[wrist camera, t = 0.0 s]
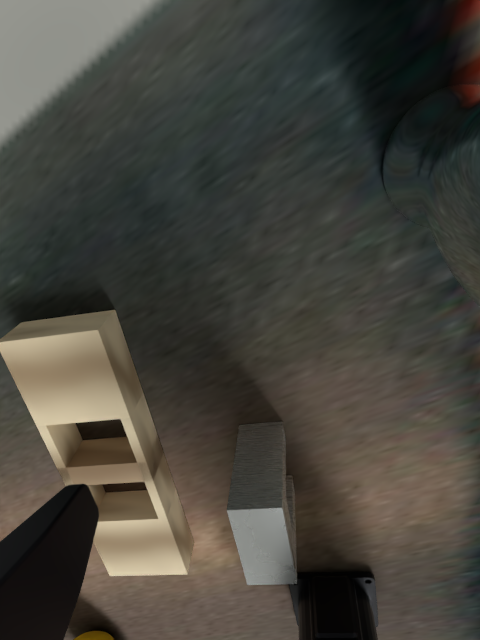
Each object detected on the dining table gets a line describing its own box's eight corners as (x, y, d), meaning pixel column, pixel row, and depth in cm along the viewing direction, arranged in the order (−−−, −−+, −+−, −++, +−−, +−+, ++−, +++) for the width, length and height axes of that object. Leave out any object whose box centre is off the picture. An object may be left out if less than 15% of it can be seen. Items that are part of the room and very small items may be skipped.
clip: (294, 489, 29) (297, 584, 23) (254, 492, 30) (247, 584, 24) (282, 421, 27) (282, 507, 21) (239, 424, 27) (226, 510, 21)
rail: (194, 542, 33) (187, 574, 30) (121, 545, 34) (110, 576, 31) (115, 309, 24) (97, 329, 22) (21, 322, 25) (-5, 342, 23)
